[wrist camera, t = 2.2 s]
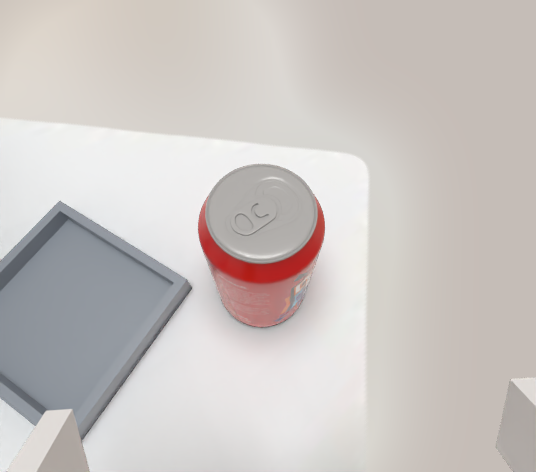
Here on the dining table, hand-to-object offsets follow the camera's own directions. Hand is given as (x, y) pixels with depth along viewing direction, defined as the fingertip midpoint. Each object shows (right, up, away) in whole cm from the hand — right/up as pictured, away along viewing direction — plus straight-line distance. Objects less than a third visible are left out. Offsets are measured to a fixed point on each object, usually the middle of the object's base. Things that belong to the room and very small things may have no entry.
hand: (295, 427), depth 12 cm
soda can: (-1, +1, +24) cm, 24 cm away
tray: (-18, -1, +22) cm, 29 cm away
